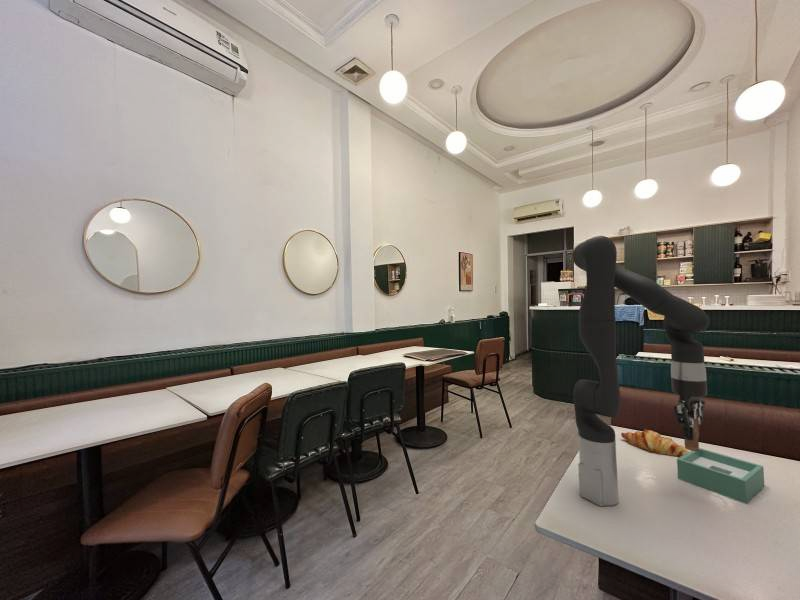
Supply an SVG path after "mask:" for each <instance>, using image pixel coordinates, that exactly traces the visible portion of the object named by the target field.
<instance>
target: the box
mask: <svg viewBox="0 0 800 600" xmlns="http://www.w3.org/2000/svg"><path fill="white" fill-rule="evenodd" d="M676 466H677V479H680V480H681V481H684V482H686V483H690V484H692V485H695V486H698V487H700V488H704V489H707V490H709V491H712V492H715V493H717V494H720V495H722V496H725V497H728V498H730V499H734V500H736V501H739V502H742V503H745V504H748V503H749V502H750V501H751V500H753V498H755V496H756V495H757V494H759V493H760V492H761V491H762V490H763V489H764V488H765V487H766V486H765V472H764V469H765V468H764V465H761V464H756V463H754V462H750V461H747V460H743V459H740V458H735V457H732V456H729V455H725V454H722V453H719V452H715V451H711V450H708V449H704V448H701V447H699V451H691V450H689V452H688V453H687V454H685V455H683V456H681V457H680V456H679V457H678V458H676Z"/></svg>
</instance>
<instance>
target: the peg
mask: <svg viewBox="0 0 800 600" xmlns="http://www.w3.org/2000/svg"><path fill="white" fill-rule="evenodd" d="M688 415H691V414H688ZM698 425H699V424H698V420H697V414H696V419H694V426H693V427H694V440H692V441H691V440H687V439H684V438H683V439H684V448H685V449H686V450H687V451H699V448H700V444H699V443H700V442H699V439H700V438H699V437H698Z"/></svg>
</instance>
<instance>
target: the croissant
mask: <svg viewBox="0 0 800 600" xmlns="http://www.w3.org/2000/svg"><path fill="white" fill-rule="evenodd" d="M620 434H621V437H622V438H623V439H624V440H626V441H627V442H629V444H631V445H632V446H634V447H637V448H639V449H641V450H644V451H647V452H651V453H654V452H655V454H660V455H666V456H678V457H679V458H680V457H681V456H683V455H685V454H687V453H688V452H690V450H688V449H686V448H685V446H683V445H680V444H678V443H677V442H675V441H674V440H673V439H672V438H670V437H665V436H662V435H661V434H660V433H658V432H656V431H654V430H650V429H643V431H640V430H639V431H635V432H631V431H630V432H629V431H628V432H621V433H620Z"/></svg>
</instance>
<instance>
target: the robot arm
mask: <svg viewBox="0 0 800 600" xmlns="http://www.w3.org/2000/svg"><path fill="white" fill-rule="evenodd" d="M617 253H618V251H617V246H616V244H615V243H614V241H613V240H612V239H611V238H610V237H608V236H606V235H597V236H593V237H591V238H589V239H586V240H584V241H583V242H580V243H578V244H577V245H576V246H575V247H574V249H573V250H572V253H571V257H572V258H571V259H572V262H573V263H574V265H575V266H576V267H578V268H579V269H581V270H583V271H584V272H585V274H586V275H585V276H586V277H585V278H586V286H585V292H584V294H583V297H582V300H581V304H580V307H579V309H578V334H579V335H578V336H579V338H580V340H581V342H582V344H583V346H584V347H585V349H586V350H587V351H588V353H589V355H590V356H591V358H592V360H593V361H594V362H595V366H596V367H597V369H598V373H599V374H598V375H599V380H600V381H597V380H591V379H579V380H577V381H576V383H575V385H574V388H573V405H574V406H573V407H574V408H573V409H574V414H575V415H574V417H575V424H576V427H577V434H578V454H579V455H578V456H579V462H578V466H577V467H578V482H579V483H578V486H579V497H582V498H584V499H586V500H587V499H588V501H589V500H590V502H592V503H593V504H595V505H597V506H599V507H603V506H606V507H607V506H616V505H618V504H619V499H620V498H619V485H618V483H619V482H618V481H619V480H618V463H617V444H616V442H617V441H616V431H615V429H614V428H613V427H612V426H611V425H610V424H608V423H607V422H605V421H604V420H602V419H601V418H600V417H599V416H603V417H608V418H614V417H616V416H617V415H618V414H619V412H620V410H621V390H620V389H621V388H620V380H619V374H618V364H617V323H616V322H617V321H616V296H615V295H616V293H615V288H616V289H617V290H619V291H620V292H622V293H624V294H625V295H627V296H628V297H630V298H631V299H633V300H634V301H635V302H637V303H638V304H640V305H641V306H642V307H643V308H645V309H647V310H648V311H650V312H651V313H653V314H657V315H660V316H662V317H663V316H664V317H663V328H664V331H665V334H666V337H667V340H668V342H669V345H670V355H671V356H670V357H671V358H670V359H671V363H670V378H671V379H670V380H671V391H672V392H673V393H675V394H677V395H678V396H679V398H678V401H677V405H676V404H675V405H673V410H674V413H675V417H676V420H677V424H678V425H681V426H682V437H683V439H687V440H691V441H692V440H694V427H693V426H694V419H696V414H697V420H698V438H700V425H701V423H702V422H703V420H704V416H705V415H704V414H705V406H706V401H705V400H703V399H701V398H702V397H703V398H704V397H706V396H708V384H707V383H708V382H707V381H708V379H707V369H706V365H705V351H704V346H703V344H702V343H701V342H700V341H697V340H696V339H695V338H694V336H693V334H695V333H701V332H704V331H705V330H707V328H708V327H709V325H710V318H709V316H708V314H707V313H706V312H705V311H704V310H703V309H702V308H701V307H699V306H697V305H695V304H693V303H691V302H690V301H687V300H685V299H684V298H681V297H678V296H676V295H674V294H672V292H670V291H669V290H667V289H665V287H663V286H661V285H660V284H658V283H657V282H655V281H654V280H652V279H650V278H648V277H646V276H643V275H641V274H638V273H636V272H634V271H633V270H629V269H627V268H625V267H623V266H622V265H619V264H618V263H617V258H618V257H617V256H618V254H617ZM688 414H691V415H688ZM598 415H599V416H598Z"/></svg>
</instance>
